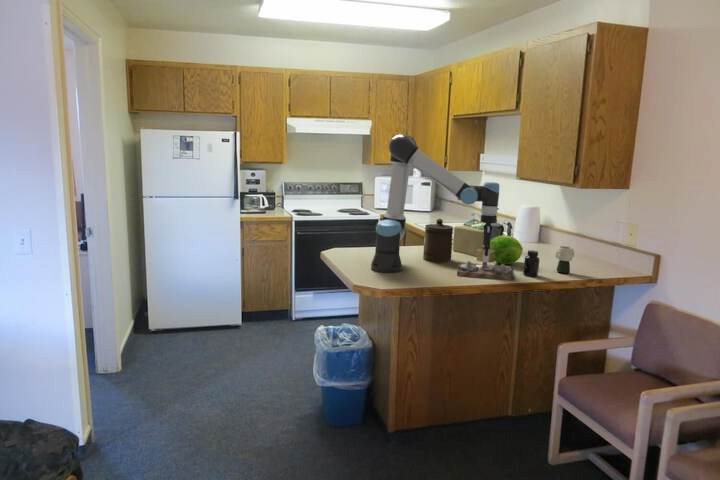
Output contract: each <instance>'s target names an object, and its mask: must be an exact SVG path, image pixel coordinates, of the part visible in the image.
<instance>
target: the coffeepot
mask: <svg viewBox="0 0 720 480" xmlns="http://www.w3.org/2000/svg"><path fill="white" fill-rule="evenodd" d="M491 226H492V232H491V238H490V241H491V240H492V239H493V238H495V237H497V236H501V235H504V233H505V226H504V224H502V223H498V220H497V221H496V223H491Z"/></svg>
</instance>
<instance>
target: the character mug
mask: <svg viewBox="0 0 720 480" xmlns="http://www.w3.org/2000/svg"><path fill="white" fill-rule="evenodd" d="M574 257H575V250H574V247H572V246H566V245H559V246H558V248H557V251H556V253H555V258H556V259H558V260H559V261H558V263H557V266H556V267H557V268H556V272H559V273H560V274H561V273H563V274H569V273H570V272H571V271H570V270H571V264H570V262H572V261H573V258H574Z"/></svg>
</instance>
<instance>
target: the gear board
mask: <svg viewBox="0 0 720 480" xmlns="http://www.w3.org/2000/svg"><path fill="white" fill-rule="evenodd" d="M456 272H457V273H456V276H459V277H468V278H469V277H470V278H479V277H480V278H481V279H482V278H483V279H490V278H491V279H493V280H505V281H515V275H514V269H512V267H511V266H510V265H506V264H500V265H497V264H488V263H487V262H481V263H472V262H471V261H469V260H468V261H466V262H463V261H462V262H461V261H460V262H459V261H457V269H456Z"/></svg>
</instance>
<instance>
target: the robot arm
mask: <svg viewBox="0 0 720 480" xmlns="http://www.w3.org/2000/svg"><path fill="white" fill-rule="evenodd" d="M388 150H389V153H390V158H389V159H390V160H389V162H390V163H391V164H392V166H391V174H390V175H391V176H390V183H389V192H388V200H387V208H386V212H385V213H384V214H383V216H382V220H380V221H378V222H377V223H376V227H375V232H376V233H375V250H374V251H375V253H374V256H373V258H372V261H371V264H370V269H371V270H372V269H373V270H372V271H374V270H375V272H378V271H379V272H378V273H385V272H386V273H387V274H388V273H390V274H392V273H400V272H401V271H402V270H403V263H402V259H401V256H400V247H401V246H400V245H401V240H403V238H404V237H405V234H406V232H407V231H406V223H407V222H406V220H407V217H406V216H405V214H404V213H405V207H406V197H407V191H408V185H409V184H408V182H409V177H410V168H411V167H413V168H415V169H416V170H418V171H419V172H421V173H422V174H424V175H425V176H426V177H428V178H429V179H430V180H432V181H434V182H435V183H436V184H438V185H439V186H441V187H442V188H443V189H445V190H446V191H448V192H449V193H450V194H452V195H453V196H455V197H456V198H457V200H458V201H461V202H462V203H463V204H465V205H473V204H475V202H479V203H480V202H481V210H480V211H481V212H480V213H481V214H480V223H483V224H484V223H485V224H484V225H483V231H484V239H483V248H482V249H484V250H483V262H488V260H489V249H490V238H491V232H492V226H491V223H497V222H498V220H497V219H498V215H497V214H498V211H500V208H499V207H498V206H499V198H500V184H499V183H498V182H494V181H485V182H484V183H483V185H472V184H471V185H470V184H467V183H466V182H465V181H464V180H462V179H461V178H459V177H457V176H456V175H455V174H454V173H452V172H451V171H449V170H448V169H446V168H445V167H444V166H442V165H441V164H439V163H438V162H436V161H435V160H434V159H432V158H430V157H429V156H428V155H427V154H425V153H424V152H422V150H421V148H420V147H419V146H417V142H416V140H415V139H414V137H413V136H411V135H409V134H408V135H407V134H397V135H395V136H393V137H392V139H390V141H389V144H388ZM496 221H497V222H496ZM483 262H482V263H483Z"/></svg>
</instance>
